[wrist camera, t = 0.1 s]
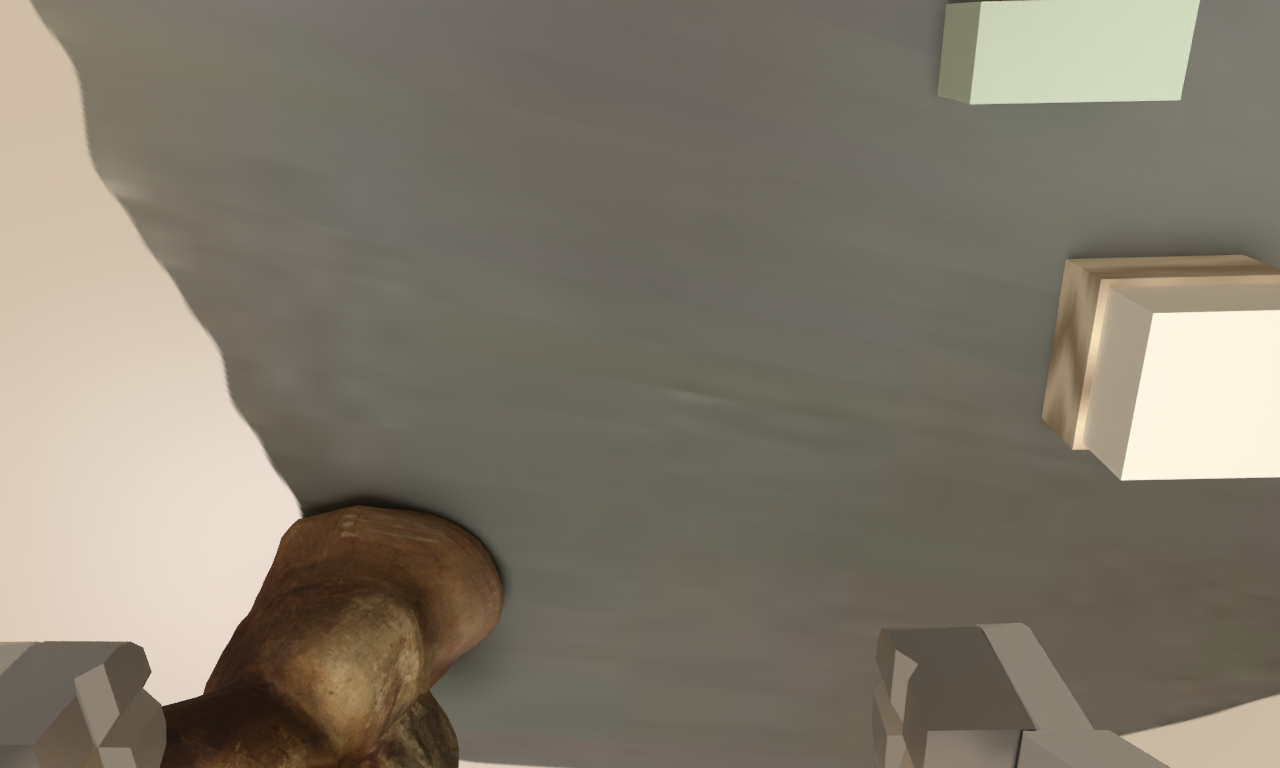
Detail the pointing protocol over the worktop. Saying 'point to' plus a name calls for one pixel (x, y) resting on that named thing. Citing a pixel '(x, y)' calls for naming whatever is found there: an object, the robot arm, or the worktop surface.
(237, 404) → the worktop surface
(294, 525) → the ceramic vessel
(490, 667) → the worktop surface
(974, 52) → the green bar
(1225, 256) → the tower base
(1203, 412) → the tower top
